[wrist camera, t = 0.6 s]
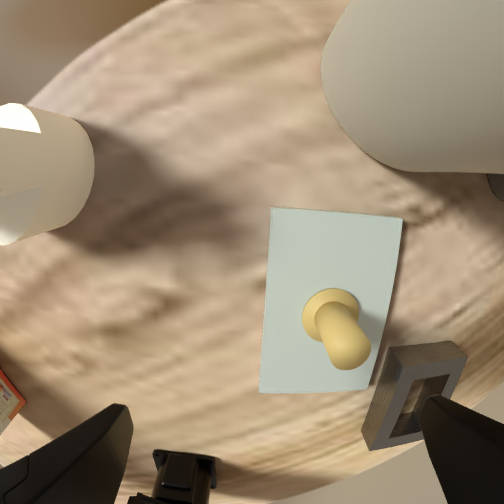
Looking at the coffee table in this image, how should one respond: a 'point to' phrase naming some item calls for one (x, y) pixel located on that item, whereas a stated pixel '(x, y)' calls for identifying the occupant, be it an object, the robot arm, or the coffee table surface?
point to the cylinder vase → (420, 82)
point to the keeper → (326, 298)
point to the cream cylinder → (41, 171)
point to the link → (399, 384)
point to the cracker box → (8, 402)
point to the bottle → (497, 184)
